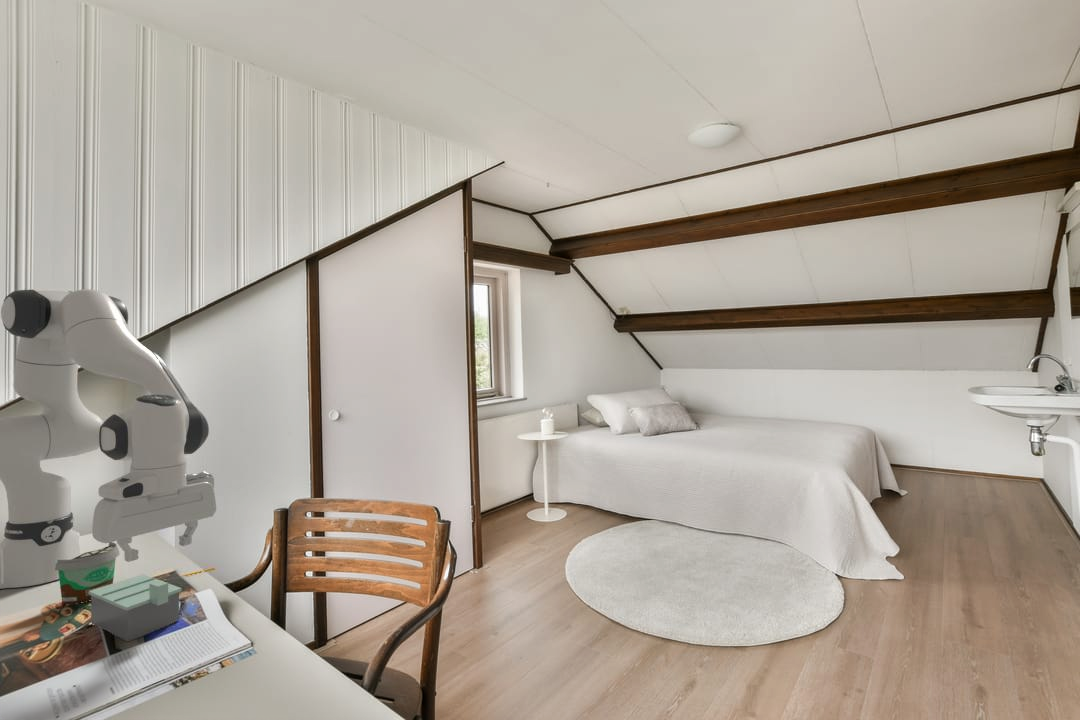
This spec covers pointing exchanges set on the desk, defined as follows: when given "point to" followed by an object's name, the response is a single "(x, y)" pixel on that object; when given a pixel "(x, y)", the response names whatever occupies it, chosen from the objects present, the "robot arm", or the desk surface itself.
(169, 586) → the lid
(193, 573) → the pencil
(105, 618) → the tub
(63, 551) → the robot arm
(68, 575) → the food container
